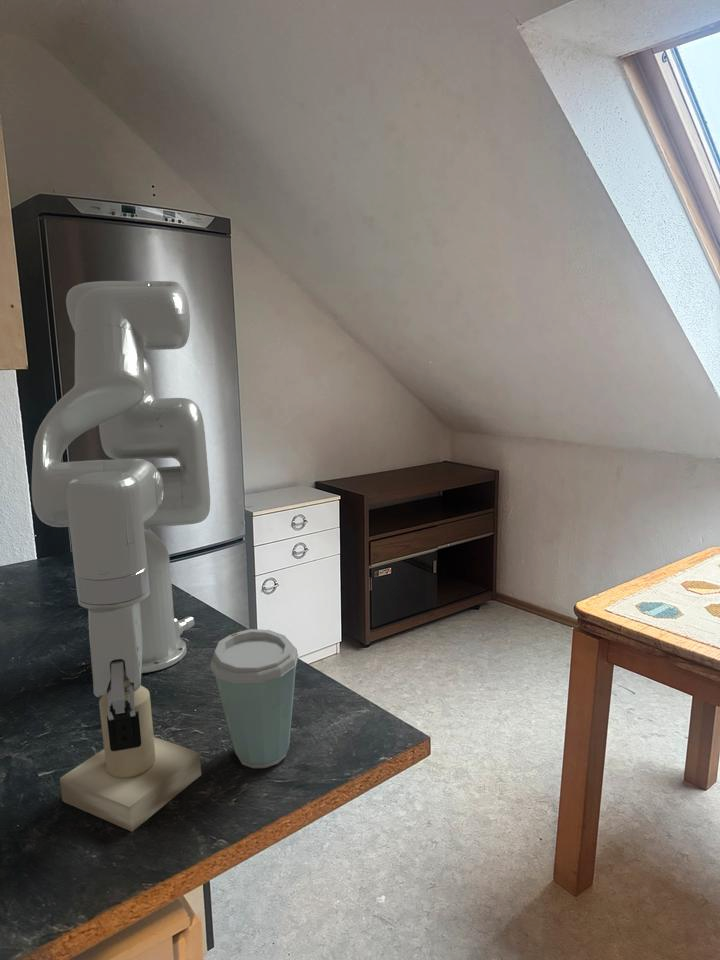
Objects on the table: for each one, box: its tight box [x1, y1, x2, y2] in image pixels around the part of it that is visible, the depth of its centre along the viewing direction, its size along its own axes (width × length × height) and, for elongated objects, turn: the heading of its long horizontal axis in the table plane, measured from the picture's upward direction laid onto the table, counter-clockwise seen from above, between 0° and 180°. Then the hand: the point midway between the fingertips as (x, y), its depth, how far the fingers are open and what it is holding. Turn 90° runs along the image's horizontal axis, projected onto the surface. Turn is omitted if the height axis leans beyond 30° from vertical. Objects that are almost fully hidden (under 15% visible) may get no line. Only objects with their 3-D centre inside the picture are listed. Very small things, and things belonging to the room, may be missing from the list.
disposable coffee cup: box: [210, 628, 299, 769], centre depth 86 cm, size 11×11×15 cm
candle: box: [98, 682, 155, 778], centre depth 80 cm, size 6×6×10 cm
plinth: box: [59, 736, 202, 833], centre depth 81 cm, size 11×11×3 cm
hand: (127, 723), depth 80 cm, fingers open, 9 cm apart
